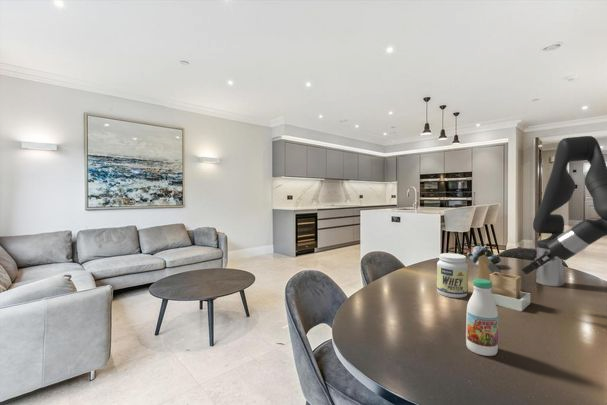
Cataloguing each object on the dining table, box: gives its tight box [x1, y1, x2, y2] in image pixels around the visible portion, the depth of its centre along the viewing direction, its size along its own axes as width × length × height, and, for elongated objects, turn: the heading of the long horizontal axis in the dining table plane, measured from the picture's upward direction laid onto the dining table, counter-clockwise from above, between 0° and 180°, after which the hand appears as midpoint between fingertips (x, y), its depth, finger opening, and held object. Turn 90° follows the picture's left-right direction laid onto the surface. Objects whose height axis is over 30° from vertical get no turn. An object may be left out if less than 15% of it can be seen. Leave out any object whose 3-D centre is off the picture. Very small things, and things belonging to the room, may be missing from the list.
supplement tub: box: [436, 252, 469, 299], centre depth 129 cm, size 12×12×17 cm
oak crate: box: [490, 272, 522, 300], centre depth 119 cm, size 9×6×10 cm, turn 40°
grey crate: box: [491, 290, 531, 312], centre depth 119 cm, size 15×12×4 cm
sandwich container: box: [477, 255, 503, 281], centre depth 132 cm, size 9×15×15 cm, turn 43°
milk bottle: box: [465, 278, 499, 357], centre depth 84 cm, size 8×8×20 cm
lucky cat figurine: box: [466, 244, 502, 268], centre depth 174 cm, size 15×12×14 cm
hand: (527, 269), depth 113 cm, fingers open, 8 cm apart
